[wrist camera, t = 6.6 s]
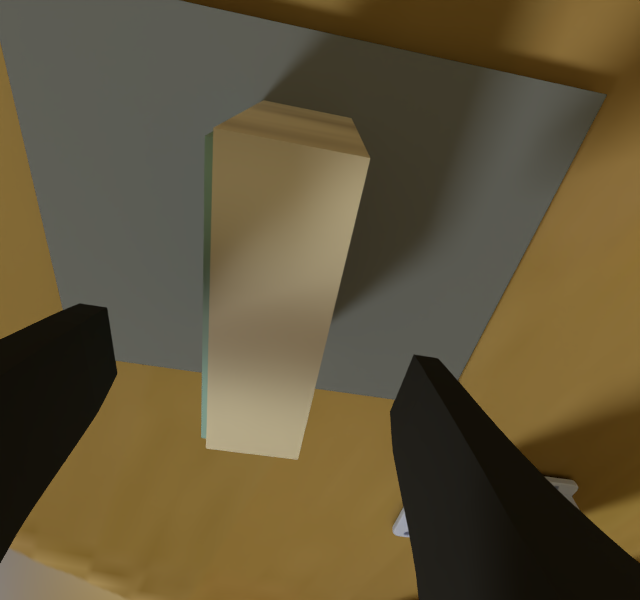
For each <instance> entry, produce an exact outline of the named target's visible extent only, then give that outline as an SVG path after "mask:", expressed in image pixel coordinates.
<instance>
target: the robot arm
mask: <svg viewBox="0 0 640 600" xmlns="http://www.w3.org/2000/svg"><path fill="white" fill-rule="evenodd" d="M116 375H117V368H116V361H115V355H114V348H113V342H112V335H111V329H110V322H109V316H108V309H107V307H101V306H94V305H88V304H81V303H79V304H77V305H74V306H72V307H69V308H67V309H64V310H62V311H60V312H58V313H56V314H53V315H51V316H49V317H47V318H45V319H43V320H41V321H38V322H36V323H34V324H32V325H30V326H28V327H26V328H24V329H22V330H19V331H17V332H15V333H13V334H11V335H9V336H7V337H5V338H2V339H0V563H1V561H2V559H3V557H4V556H5V554H6V552H7V550H8V548H9V547H10V545H11V543H12V541H13V540H14V538H15V536H16V534H17V533H18V531H19V529H20V528H21V526H22V525H23V523H24V521H25V520H26V518H27V517H28V515H29V514H30V512H31V510H32V509H33V507H34V506H35V504H36V503H37V501H38V500H39V498H40V497H41V496H42V494H43V493H44V491H45V490H46V488H47V487H48V485H49V484H50V482H51V481H52V479H53V478H54V477H55V475H56V474H57V472H58V471H59V469H60V468H61V466H62V465H63V463H64V462H65V461H66V459H67V458H68V456H69V455H70V453H71V452H72V450H73V449H74V447H75V446H76V444H77V443H78V441H79V440H80V438H81V437H82V436H83V434H84V433H85V431H86V430H87V428H88V427H89V425H90V424H91V422H92V421H93V419H94V418H95V416H96V414H97V413H98V411H99V409H100V407H101V405H102V403H103V402H104V400H105V398H106V396H107V394H108V392H109V390H110V388H111V386H112V384H113V382H114V379H115V377H116ZM390 417H391V434H392V446H393V455H394V460H395V465H396V471H397V476H398V481H399V486H400V491H401V496H402V501H403V506H404V507H403V509H402V511H401V513H400V514H399V516H398V518H397V520H396V522H395V523H394V525H393V533H394V534H395V535H396V536H403V537H410V541H411V546H412V552H413V558H414V564H415V571H416V578H417V587H418V597H419V600H640V563H638V562H637V561H636V560H635V559H634V558H632V557H631V556H630V555H629V554H628V553H627V552H625V551H624V550H623V549H622V548H621V547H620V546H618V545H617V544H616V543H615V542H614V541H613V540H612V539H610V538H609V537H608V536H607V535H606V534H605V533H604V532H602V531H601V530H600V529H599V528H598V527H597V526H596V525H595V524H594V523H593V522H592V521H591V520H589V519H588V518H587V517H586V516H585V515H584V514H583V513H582V512H581V511H580V510H579V508H578V506H577V504H576V503H575V501H574V499H573V497H572V495H573V494H574V493H575V492H576V491H577V490H578V486H577V484H576V482H575V481H573V480H569V479H561V478H553V477H545V476H543V475H542V474H541V473H540V472H539V471H538V469H537V468H536V467H535V466H534V465H533V464H532V463H531V462H530V461H529V460H528V459H527V458H526V457H525V456H524V455H523V454H522V453H521V452H520V451H519V450H518V449H517V448H516V446H515V445H514V444H513V443H512V442H511V441H510V440H509V439H508V438H507V437H506V436H505V435H504V433H503V432H502V431H501V430H500V429H499V428H498V427H497V426H496V424H495V423H494V422H493V421H492V420H491V419H490V418H489V417H488V415H487V414H486V413H485V412H484V411H483V410H482V408H481V407H480V406H479V405H478V404H477V403H476V401H475V400H474V399H473V398H472V397H471V396H470V394H469V393H468V392H467V391H466V390H465V389H464V387H463V386H462V385H461V384H460V383H459V381H458V380H457V379H456V378H455V377H454V376H453V374H452V373H451V372H450V371H449V370H448V369H447V368H446V366H445V365H444V364H443V363H442V362H441V361H440V360H439V359H438V358H434V357H427V356H421V355H413V357H412V360H411V362H410V365H409V367H408V369H407V372H406V374H405V377H404V379H403V382H402V384H401V387H400V389H399V391H398V394H397V396H396V399H395V401H394V404H393V406H392V408H391V411H390Z"/></svg>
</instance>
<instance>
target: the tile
mask: <svg viewBox="0 0 640 600" xmlns="http://www.w3.org/2000/svg"><path fill="white" fill-rule="evenodd" d="M369 162H370V156H369V154H368V152H367V150H366V148H365V146H364V144H363V141H362V139H361V137H360V135H359V133H358V131H357V129H356V127H355V124H354V122H353V120H352V118H348V117H343V116H338V115H334V114H329V113H324V112H319V111H314V110H309V109H304V108H299V107H294V106H289V105H284V104H279V103H274V102H269V101H264V100H263V101H261V102H259V103H258V104H256V105H254V106H252V107H250V108H248V109H247V110H245V111H243V112H241V113H239V114H237V115H236V116H234V117H232V118H230V119H228V120H226V121H225V122H223V123H221V124H219V125H217V126H216V127H214V128H213V131H212V132H211V133H209V134H207V135H205V159H204V247H203V335H202V424H201V438H206V448H207V449H215V450H223V451H231V452H239V453H247V454H256V455H264V456H272V457H280V458H288V459H296V460H298V457H299V453H300V448H301V444H302V440H303V436H304V432H305V428H306V423H307V419H308V415H309V411H310V407H311V403H312V399H313V394H314V390H315V386H316V382H317V378H318V374H319V370H320V365H321V361H322V357H323V353H324V349H325V345H326V341H327V336H328V332H329V328H330V324H331V320H332V316H333V311H334V307H335V303H336V299H337V295H338V291H339V287H340V282H341V278H342V274H343V270H344V266H345V262H346V258H347V253H348V249H349V245H350V241H351V237H352V233H353V228H354V224H355V220H356V216H357V212H358V208H359V204H360V199H361V195H362V191H363V187H364V183H365V179H366V175H367V170H368V166H369Z"/></svg>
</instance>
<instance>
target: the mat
mask: <svg viewBox="0 0 640 600" xmlns="http://www.w3.org/2000/svg"><path fill="white" fill-rule="evenodd" d="M0 42H1V46H2V50H3V55H4V59H5V63H6V68H7V72H8V76H9V80H10V85H11V89H12V93H13V98H14V102H15V106H16V110H17V115H18V119H19V123H20V128H21V132H22V136H23V140H24V145H25V149H26V153H27V158H28V162H29V166H30V170H31V175H32V179H33V183H34V188H35V192H36V196H37V200H38V205H39V209H40V213H41V217H42V222H43V226H44V230H45V235H46V239H47V243H48V247H49V252H50V256H51V260H52V265H53V269H54V273H55V277H56V282H57V286H58V290H59V295H60V299H61V303H62V307H63V310H64V309H67V308H69V307H72V306H74V305H77V304H79V303H81V304H88V305H94V306H101V307H107V309H108V316H109V322H110V329H111V335H112V342H113V348H114V355H115V360H116V361H123V362H130V363H137V364H144V365H152V366H159V367H166V368H173V369H180V370H187V371H194V372H202V335H203V247H204V159H205V135H207V134H209V133H211V132H212V131H213V128H214V127H216V126H217V125H219V124H221V123H223V122H225V121H226V120H228V119H230V118H232V117H234V116H236V115H237V114H239V113H241V112H243V111H245V110H247V109H248V108H250V107H252V106H254V105H256V104H258V103H259V102H261V101H263V100H264V101H269V102H274V103H279V104H284V105H289V106H294V107H299V108H304V109H309V110H314V111H319V112H324V113H329V114H334V115H338V116H343V117H348V118H352V120H353V122H354V124H355V127H356V129H357V131H358V133H359V135H360V137H361V139H362V141H363V144H364V146H365V148H366V150H367V152H368V154H369V156H370V162H369V166H368V170H367V175H366V179H365V183H364V187H363V191H362V195H361V199H360V204H359V208H358V212H357V216H356V220H355V224H354V228H353V233H352V237H351V241H350V245H349V249H348V253H347V258H346V262H345V266H344V270H343V274H342V278H341V282H340V287H339V291H338V295H337V299H336V303H335V307H334V311H333V316H332V320H331V324H330V328H329V332H328V336H327V341H326V345H325V349H324V353H323V357H322V361H321V365H320V370H319V374H318V378H317V382H316V386H315V388H316V389H323V390H330V391H337V392H344V393H352V394H359V395H366V396H373V397H380V398H387V399H396V396H397V394H398V391H399V389H400V387H401V384H402V382H403V379H404V377H405V374H406V372H407V369H408V367H409V365H410V362H411V360H412V357H413V355H421V356H427V357H434V358H438V359H439V360H440V361H441V362H442V363H443V364H444V365H445V366H446V368H447V369H448V370H449V371H450V372H451V373H452V374H453V376H454V377H455V378H456V379H457V380H458V379H459V377H460V375H461V373H462V371H463V369H464V367H465V366H466V364H467V362H468V360H469V358H470V356H471V354H472V352H473V350H474V348H475V346H476V344H477V343H478V341H479V339H480V337H481V335H482V333H483V331H484V329H485V327H486V325H487V323H488V322H489V320H490V318H491V316H492V314H493V312H494V310H495V308H496V306H497V304H498V302H499V300H500V299H501V297H502V295H503V293H504V291H505V289H506V287H507V285H508V283H509V281H510V279H511V278H512V276H513V274H514V272H515V270H516V268H517V266H518V264H519V262H520V260H521V258H522V256H523V255H524V253H525V251H526V249H527V247H528V245H529V243H530V241H531V239H532V237H533V235H534V234H535V232H536V230H537V228H538V226H539V224H540V222H541V220H542V218H543V216H544V214H545V212H546V211H547V209H548V207H549V205H550V203H551V201H552V199H553V197H554V195H555V193H556V191H557V189H558V188H559V186H560V184H561V182H562V180H563V178H564V176H565V174H566V172H567V170H568V168H569V167H570V165H571V163H572V161H573V159H574V157H575V155H576V153H577V151H578V149H579V147H580V145H581V144H582V142H583V140H584V138H585V136H586V134H587V132H588V130H589V128H590V126H591V124H592V123H593V121H594V119H595V117H596V115H597V113H598V111H599V109H600V107H601V105H602V103H603V101H604V100H605V98H606V96H607V94H602V93H597V92H593V91H588V90H584V89H579V88H575V87H570V86H566V85H561V84H557V83H552V82H548V81H543V80H538V79H534V78H529V77H525V76H520V75H516V74H511V73H507V72H502V71H498V70H493V69H489V68H484V67H479V66H475V65H470V64H466V63H461V62H457V61H452V60H448V59H443V58H439V57H434V56H430V55H425V54H420V53H416V52H411V51H407V50H402V49H398V48H393V47H389V46H384V45H380V44H375V43H371V42H366V41H362V40H357V39H352V38H348V37H343V36H339V35H334V34H330V33H325V32H321V31H316V30H312V29H307V28H303V27H298V26H293V25H289V24H284V23H280V22H275V21H271V20H266V19H262V18H257V17H253V16H248V15H244V14H239V13H234V12H230V11H225V10H221V9H216V8H212V7H207V6H203V5H198V4H194V3H189V2H185V1H180V0H0Z"/></svg>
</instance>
